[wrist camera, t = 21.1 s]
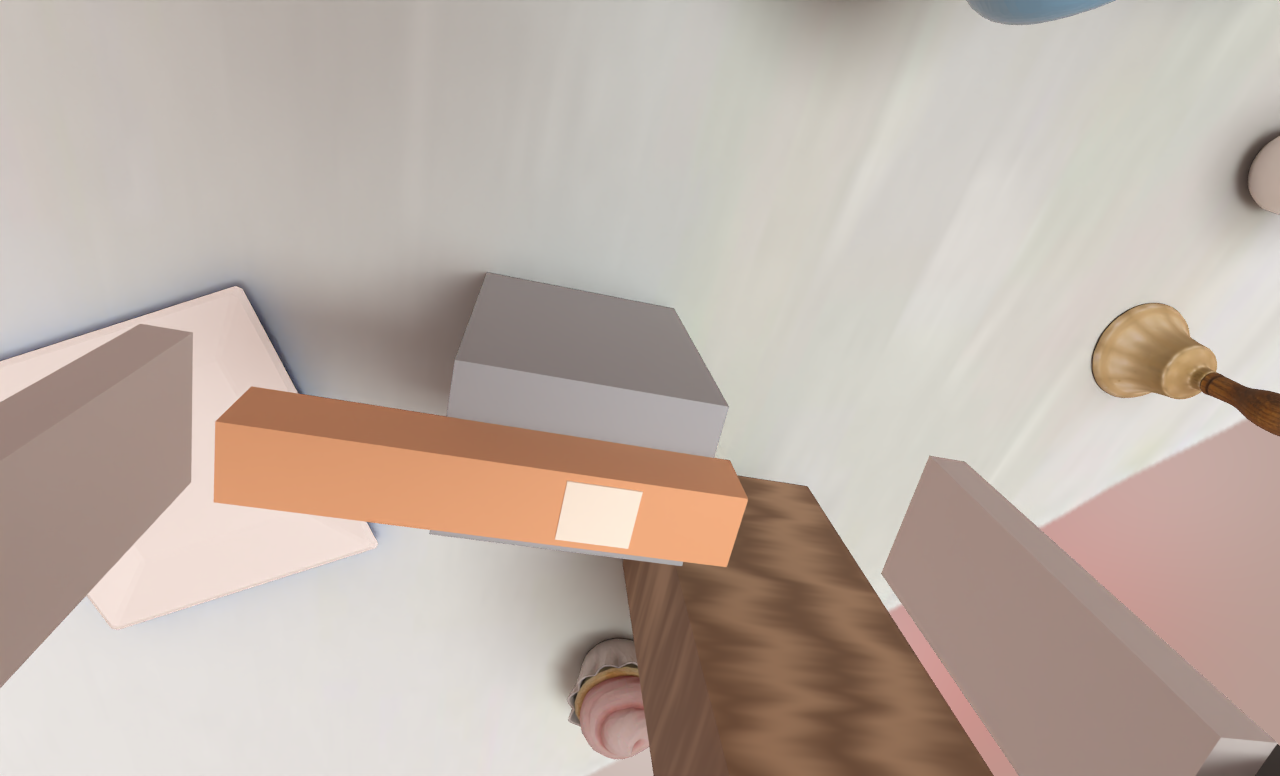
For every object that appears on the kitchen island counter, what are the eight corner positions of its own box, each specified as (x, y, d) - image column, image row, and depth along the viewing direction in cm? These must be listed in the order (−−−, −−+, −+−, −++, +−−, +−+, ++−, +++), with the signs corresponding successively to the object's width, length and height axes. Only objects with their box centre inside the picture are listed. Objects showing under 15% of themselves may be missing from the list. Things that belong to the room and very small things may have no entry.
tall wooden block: (622, 563, 63) (676, 933, 35) (648, 462, 59) (731, 784, 32) (773, 582, 65) (935, 941, 38) (807, 486, 62) (1011, 803, 34)
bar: (248, 460, 36) (212, 503, 32) (251, 386, 34) (214, 422, 31) (710, 523, 40) (727, 568, 36) (729, 460, 39) (748, 500, 35)
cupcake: (620, 718, 70) (630, 813, 60) (545, 671, 66) (543, 765, 57) (688, 656, 68) (709, 746, 58) (614, 606, 64) (624, 691, 55)
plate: (125, 616, 60) (111, 633, 58) (-53, 375, 51) (-76, 386, 49) (384, 533, 59) (379, 548, 58) (250, 278, 51) (238, 285, 49)
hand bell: (1206, 331, 61) (1414, 408, 46) (1137, 412, 63) (1315, 509, 48) (1140, 284, 58) (1337, 349, 44) (1071, 370, 61) (1236, 459, 46)
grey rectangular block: (467, 398, 56) (429, 534, 39) (486, 272, 52) (454, 359, 35) (644, 427, 58) (682, 566, 41) (674, 308, 55) (728, 406, 38)
